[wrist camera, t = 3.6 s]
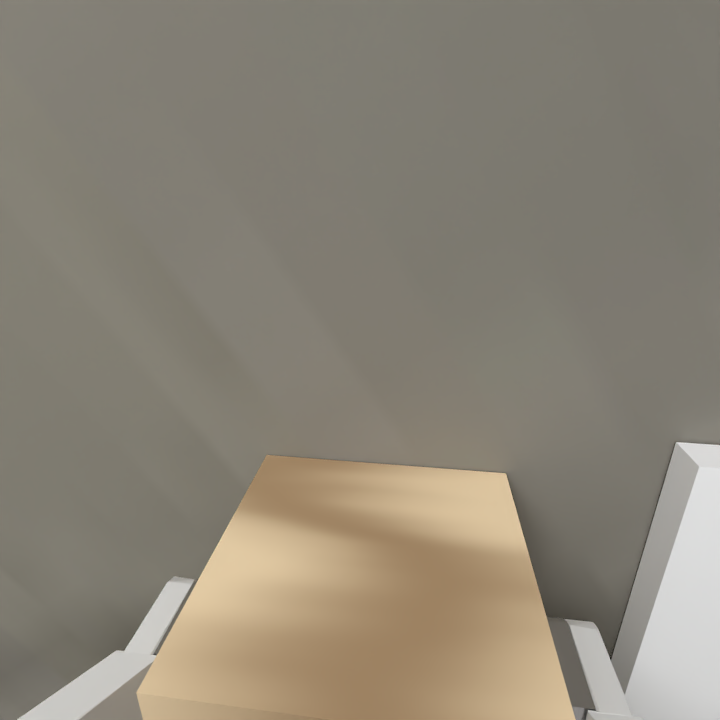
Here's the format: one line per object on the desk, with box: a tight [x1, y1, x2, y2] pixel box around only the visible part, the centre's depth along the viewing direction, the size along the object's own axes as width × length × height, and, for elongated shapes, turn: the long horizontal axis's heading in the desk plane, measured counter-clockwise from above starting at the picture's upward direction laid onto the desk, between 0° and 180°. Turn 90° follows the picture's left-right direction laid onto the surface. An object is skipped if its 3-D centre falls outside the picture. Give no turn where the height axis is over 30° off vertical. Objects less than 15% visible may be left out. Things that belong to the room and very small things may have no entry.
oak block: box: [136, 455, 576, 720], centre depth 8 cm, size 5×5×5 cm
